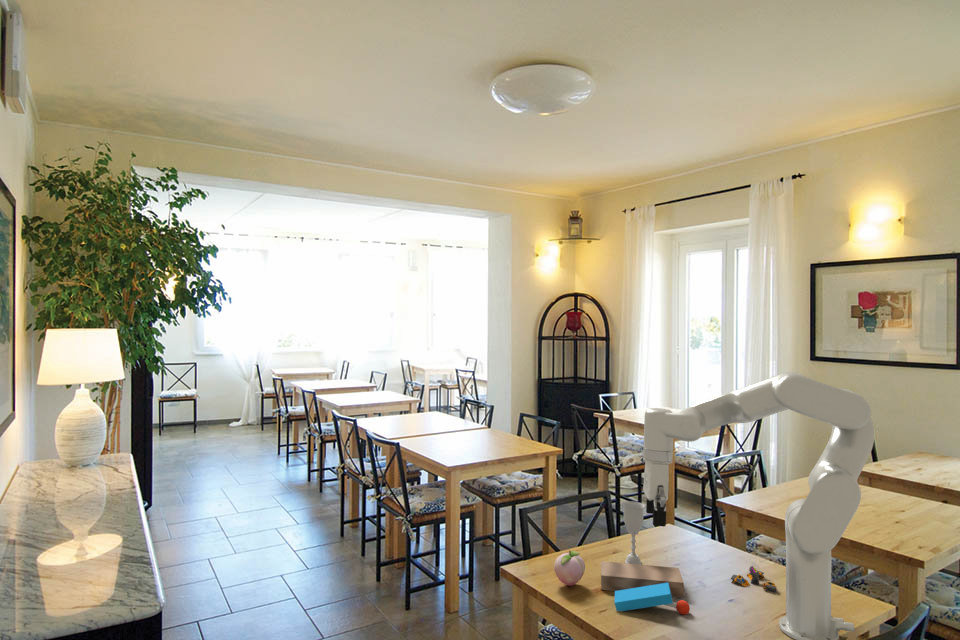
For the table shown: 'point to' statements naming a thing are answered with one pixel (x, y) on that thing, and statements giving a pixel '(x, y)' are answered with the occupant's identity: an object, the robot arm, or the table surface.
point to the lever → (648, 598)
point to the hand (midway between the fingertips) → (655, 519)
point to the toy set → (754, 580)
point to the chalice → (633, 526)
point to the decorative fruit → (569, 568)
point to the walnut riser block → (639, 577)
